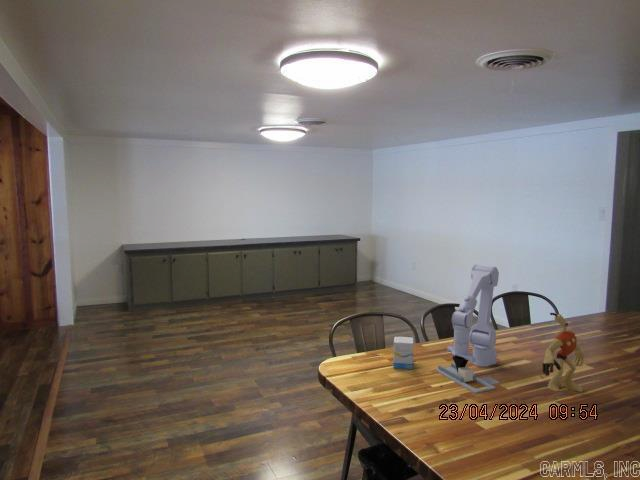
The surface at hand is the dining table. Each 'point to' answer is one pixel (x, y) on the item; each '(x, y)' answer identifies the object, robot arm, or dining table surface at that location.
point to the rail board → (453, 375)
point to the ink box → (403, 353)
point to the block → (465, 373)
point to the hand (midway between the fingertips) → (460, 374)
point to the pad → (489, 380)
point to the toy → (563, 357)
